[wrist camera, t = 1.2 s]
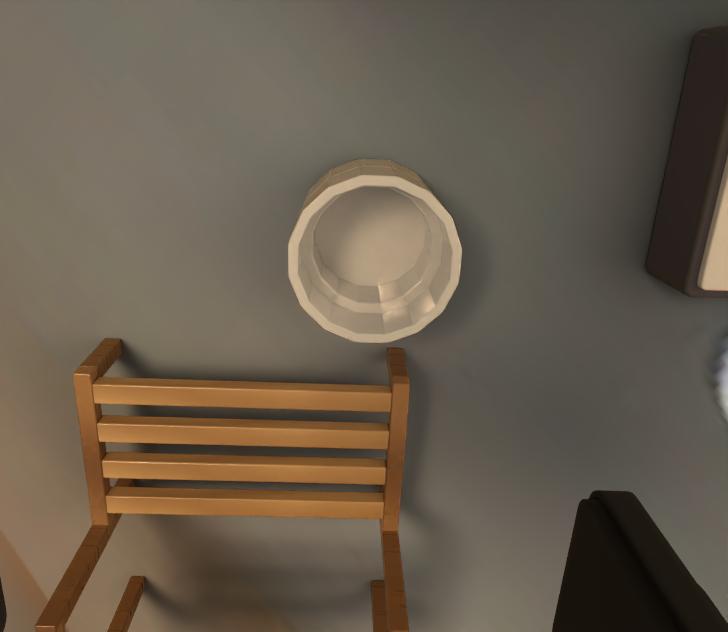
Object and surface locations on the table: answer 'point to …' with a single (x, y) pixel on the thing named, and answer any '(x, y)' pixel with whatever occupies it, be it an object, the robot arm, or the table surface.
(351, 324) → the white cup
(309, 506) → the rack
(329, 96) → the table surface
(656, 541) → the robot arm
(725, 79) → the calculator
